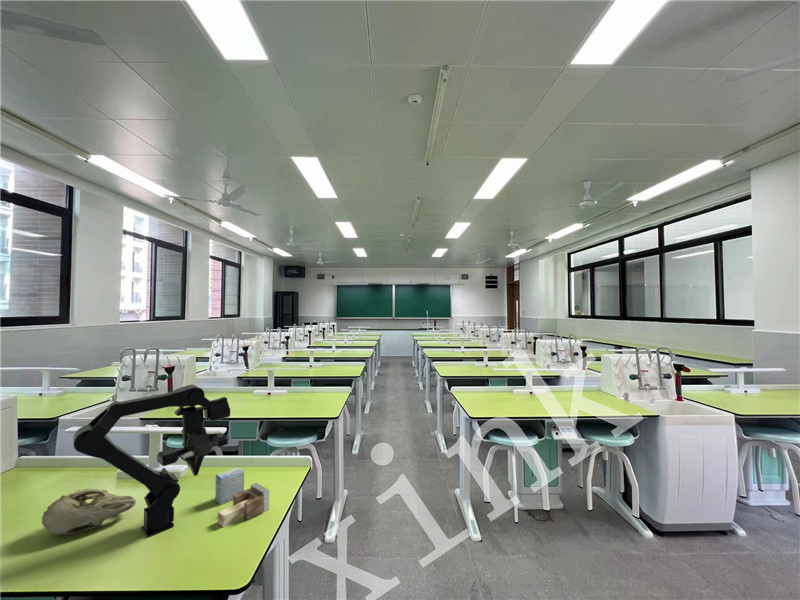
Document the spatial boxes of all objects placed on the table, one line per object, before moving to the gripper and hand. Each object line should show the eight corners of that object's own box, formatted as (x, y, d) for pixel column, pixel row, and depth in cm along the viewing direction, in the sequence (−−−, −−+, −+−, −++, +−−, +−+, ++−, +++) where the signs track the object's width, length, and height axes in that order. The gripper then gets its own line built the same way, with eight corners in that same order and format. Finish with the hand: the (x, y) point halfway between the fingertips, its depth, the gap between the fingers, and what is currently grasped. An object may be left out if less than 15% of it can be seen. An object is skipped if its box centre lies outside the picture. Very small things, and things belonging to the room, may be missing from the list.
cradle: (247, 519, 104) (247, 504, 104) (232, 509, 110) (233, 495, 110) (264, 511, 108) (264, 497, 109) (249, 502, 114) (249, 488, 114)
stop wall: (263, 512, 109) (263, 492, 109) (250, 503, 114) (250, 485, 114) (269, 509, 110) (269, 490, 111) (255, 501, 115) (256, 482, 116)
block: (223, 528, 101) (223, 516, 101) (217, 524, 103) (218, 512, 103) (255, 513, 109) (255, 501, 109) (249, 509, 111) (250, 498, 111)
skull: (119, 514, 113) (139, 520, 105) (32, 539, 96) (48, 549, 89) (123, 477, 116) (143, 480, 108) (39, 495, 99) (55, 501, 91)
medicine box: (238, 491, 122) (238, 466, 122) (244, 495, 119) (244, 470, 119) (214, 500, 116) (215, 474, 116) (220, 505, 113) (221, 478, 113)
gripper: (168, 441, 96) (171, 497, 96) (235, 421, 111) (237, 469, 110) (155, 433, 103) (157, 485, 103) (219, 415, 117) (221, 461, 117)
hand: (195, 475), depth 108 cm, fingers closed
